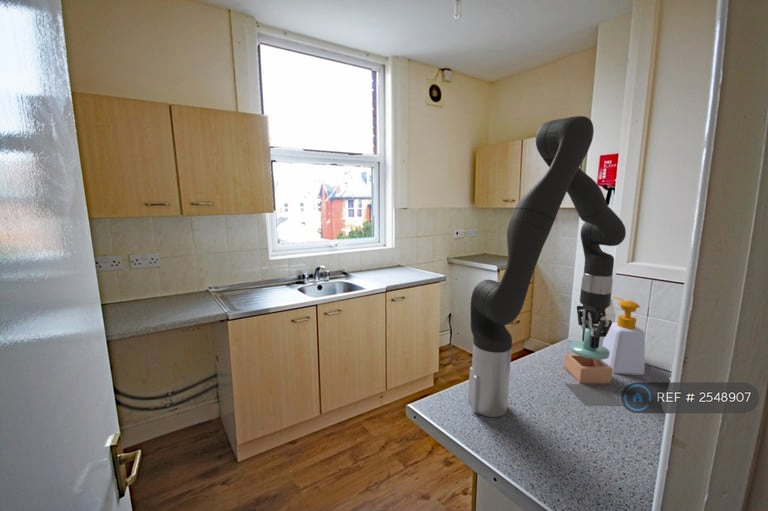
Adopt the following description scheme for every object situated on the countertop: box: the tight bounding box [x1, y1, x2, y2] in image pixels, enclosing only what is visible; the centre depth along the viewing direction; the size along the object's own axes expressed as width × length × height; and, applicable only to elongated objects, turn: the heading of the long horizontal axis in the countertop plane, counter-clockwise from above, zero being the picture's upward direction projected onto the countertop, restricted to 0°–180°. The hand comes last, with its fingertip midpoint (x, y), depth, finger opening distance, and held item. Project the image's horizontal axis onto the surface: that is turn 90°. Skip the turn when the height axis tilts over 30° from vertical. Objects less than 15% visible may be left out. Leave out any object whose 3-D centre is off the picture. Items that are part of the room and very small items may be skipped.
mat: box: [564, 383, 624, 407], centre depth 93 cm, size 10×10×1 cm
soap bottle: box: [602, 296, 646, 376], centre depth 108 cm, size 10×14×22 cm
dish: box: [563, 353, 613, 384], centre depth 102 cm, size 9×9×5 cm
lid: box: [569, 327, 610, 360], centre depth 101 cm, size 10×10×7 cm
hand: (589, 344), depth 101 cm, fingers closed on lid, 3 cm apart
